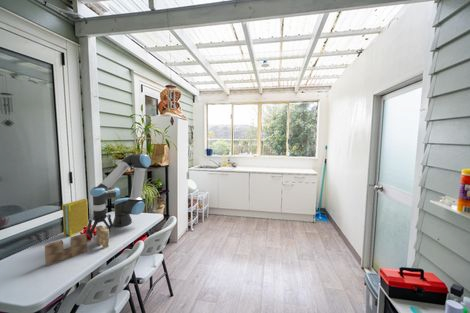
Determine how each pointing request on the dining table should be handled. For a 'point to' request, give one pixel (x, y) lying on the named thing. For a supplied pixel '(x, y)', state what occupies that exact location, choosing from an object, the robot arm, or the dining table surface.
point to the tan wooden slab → (102, 236)
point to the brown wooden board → (57, 253)
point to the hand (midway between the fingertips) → (100, 239)
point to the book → (75, 216)
